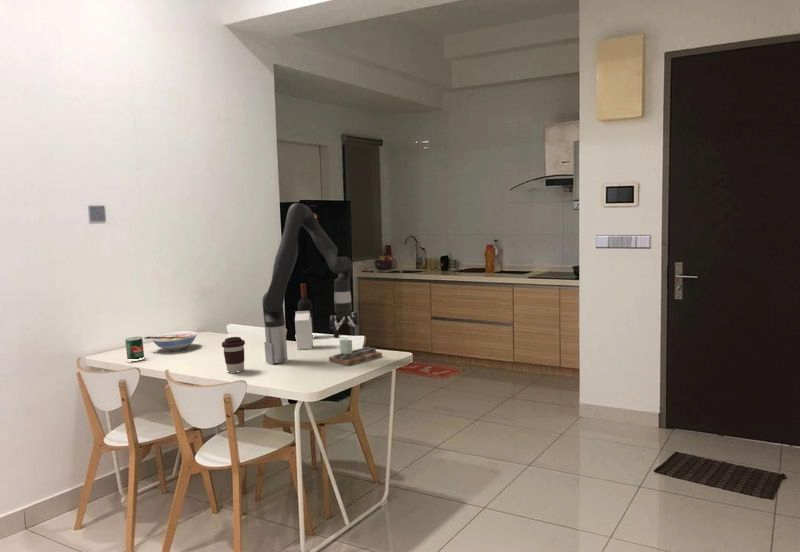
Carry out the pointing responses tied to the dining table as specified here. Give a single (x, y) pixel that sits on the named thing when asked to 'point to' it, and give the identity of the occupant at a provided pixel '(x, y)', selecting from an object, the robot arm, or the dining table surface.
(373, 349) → the brown flat piece
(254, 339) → the dining table surface
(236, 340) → the coffee cup
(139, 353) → the canned tomato
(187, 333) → the ramen bowl
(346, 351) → the fader
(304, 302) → the wine bottle
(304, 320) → the milk carton
